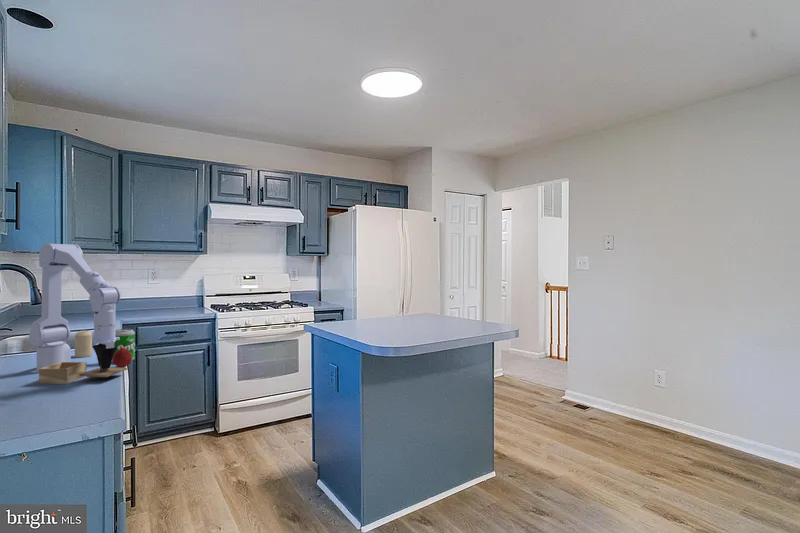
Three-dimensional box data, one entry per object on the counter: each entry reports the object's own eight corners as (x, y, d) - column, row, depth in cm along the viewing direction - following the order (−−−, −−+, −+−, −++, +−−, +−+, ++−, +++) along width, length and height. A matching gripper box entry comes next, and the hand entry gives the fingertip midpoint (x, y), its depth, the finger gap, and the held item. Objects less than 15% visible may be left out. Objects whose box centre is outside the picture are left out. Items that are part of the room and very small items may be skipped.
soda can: (108, 365, 157) (109, 332, 157) (113, 360, 164) (113, 329, 164) (133, 363, 160) (133, 331, 160) (136, 359, 167) (136, 328, 167)
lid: (101, 370, 143) (102, 356, 143) (127, 371, 143) (127, 357, 143) (79, 377, 134) (79, 362, 134) (106, 378, 133) (107, 363, 133)
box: (61, 377, 141) (61, 361, 141) (86, 377, 141) (86, 362, 141) (38, 385, 132) (38, 368, 132) (65, 385, 132) (65, 369, 132)
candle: (91, 356, 170) (92, 331, 170) (74, 358, 167) (74, 332, 167) (92, 354, 175) (92, 329, 175) (75, 355, 172) (75, 330, 172)
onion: (135, 366, 155) (135, 344, 155) (126, 370, 150) (126, 347, 149) (119, 366, 155) (119, 344, 155) (108, 370, 149) (108, 347, 149)
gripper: (125, 326, 136) (125, 369, 136) (113, 321, 146) (113, 361, 146) (98, 328, 131) (98, 373, 131) (88, 323, 141) (88, 365, 141)
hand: (104, 367), depth 138 cm, fingers closed on lid, 2 cm apart
